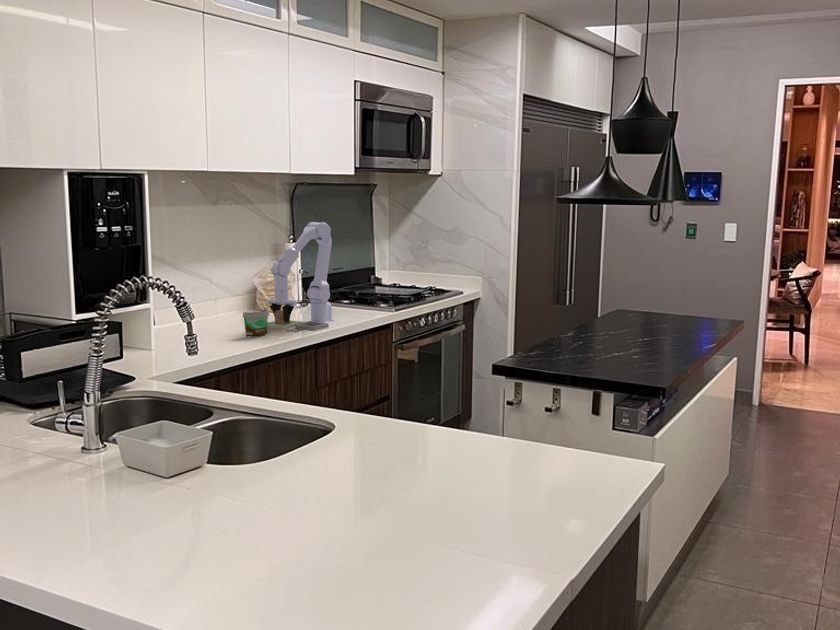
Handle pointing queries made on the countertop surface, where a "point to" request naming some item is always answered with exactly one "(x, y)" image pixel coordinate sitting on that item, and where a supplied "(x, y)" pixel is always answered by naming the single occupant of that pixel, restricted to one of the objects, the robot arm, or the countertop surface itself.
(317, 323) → the grey tray
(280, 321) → the walnut block
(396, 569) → the countertop surface
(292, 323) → the green tray
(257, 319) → the food container
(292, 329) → the slate coaster
